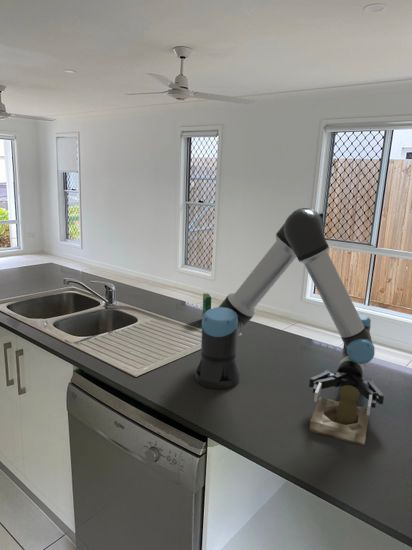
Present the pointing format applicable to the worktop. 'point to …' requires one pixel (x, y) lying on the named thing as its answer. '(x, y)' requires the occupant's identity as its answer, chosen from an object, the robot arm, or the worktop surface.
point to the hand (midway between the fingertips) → (341, 403)
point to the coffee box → (206, 302)
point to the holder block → (326, 425)
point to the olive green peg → (347, 405)
